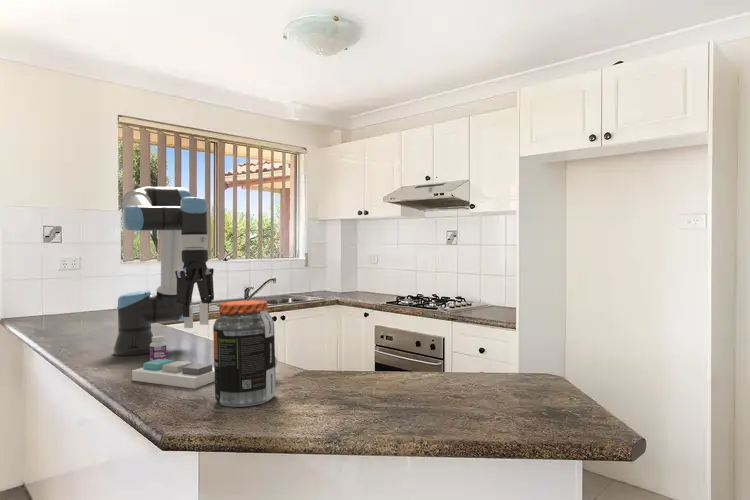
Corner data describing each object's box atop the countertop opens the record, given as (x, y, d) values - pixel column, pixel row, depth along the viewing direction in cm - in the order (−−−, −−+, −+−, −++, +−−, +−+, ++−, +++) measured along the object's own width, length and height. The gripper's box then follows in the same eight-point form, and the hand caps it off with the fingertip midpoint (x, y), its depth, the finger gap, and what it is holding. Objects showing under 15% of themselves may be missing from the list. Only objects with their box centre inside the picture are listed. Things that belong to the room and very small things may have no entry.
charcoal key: (197, 372, 158) (197, 362, 158) (212, 374, 156) (212, 364, 156) (182, 377, 153) (182, 367, 153) (198, 379, 150) (197, 369, 150)
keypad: (162, 371, 168) (162, 362, 168) (223, 378, 158) (222, 368, 158) (132, 380, 157) (131, 370, 157) (194, 388, 147) (194, 378, 147)
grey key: (177, 370, 162) (177, 360, 162) (192, 371, 159) (192, 362, 159) (162, 374, 156) (162, 365, 156) (177, 376, 154) (177, 366, 154)
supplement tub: (288, 395, 139) (286, 300, 138) (246, 412, 125) (243, 307, 125) (245, 388, 147) (243, 297, 146) (201, 403, 133) (199, 304, 133)
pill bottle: (155, 366, 175) (154, 338, 175) (147, 364, 178) (146, 336, 178) (169, 363, 179) (169, 336, 179) (161, 361, 182) (160, 334, 182)
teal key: (158, 368, 165) (158, 358, 165) (172, 369, 162) (172, 360, 162) (143, 372, 159) (143, 363, 159) (157, 374, 157) (157, 364, 157)
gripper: (180, 249, 144) (182, 332, 144) (225, 248, 161) (227, 322, 161) (160, 249, 147) (162, 330, 147) (207, 248, 164) (208, 320, 164)
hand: (196, 325), depth 154 cm, fingers open, 6 cm apart
